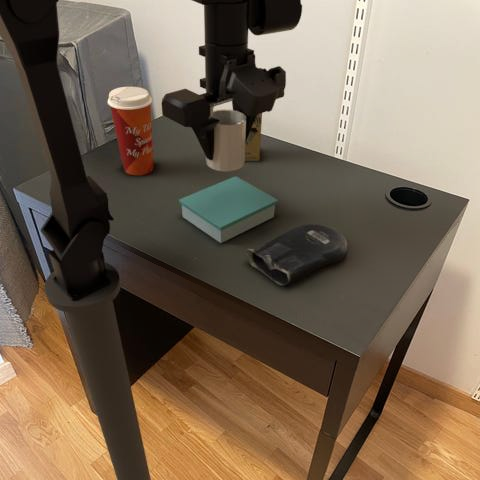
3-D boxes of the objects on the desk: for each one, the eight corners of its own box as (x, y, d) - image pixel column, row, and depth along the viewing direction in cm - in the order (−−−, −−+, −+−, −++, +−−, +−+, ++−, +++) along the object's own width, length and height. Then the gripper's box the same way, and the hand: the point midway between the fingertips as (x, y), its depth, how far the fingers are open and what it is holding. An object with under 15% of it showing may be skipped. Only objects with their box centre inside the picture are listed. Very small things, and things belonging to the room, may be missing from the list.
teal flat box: (220, 245, 76) (220, 227, 74) (179, 216, 81) (178, 199, 79) (276, 217, 82) (278, 200, 80) (235, 192, 88) (235, 175, 85)
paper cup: (138, 182, 89) (128, 105, 80) (110, 169, 93) (96, 93, 83) (167, 167, 94) (161, 92, 84) (139, 155, 97) (130, 81, 87)
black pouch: (291, 301, 69) (359, 250, 75) (287, 271, 65) (359, 220, 71) (248, 276, 75) (314, 230, 81) (243, 247, 71) (312, 201, 77)
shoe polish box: (259, 160, 97) (262, 99, 88) (234, 160, 97) (236, 99, 88) (257, 149, 100) (260, 89, 92) (233, 149, 100) (234, 89, 92)
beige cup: (223, 175, 72) (223, 129, 67) (198, 161, 75) (196, 116, 70) (252, 163, 75) (254, 118, 70) (227, 150, 78) (227, 106, 73)
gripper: (211, 70, 55) (213, 193, 65) (319, 42, 64) (304, 154, 75) (154, 46, 60) (164, 164, 71) (260, 24, 70) (255, 130, 80)
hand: (225, 153), depth 74 cm, fingers closed on beige cup, 6 cm apart
